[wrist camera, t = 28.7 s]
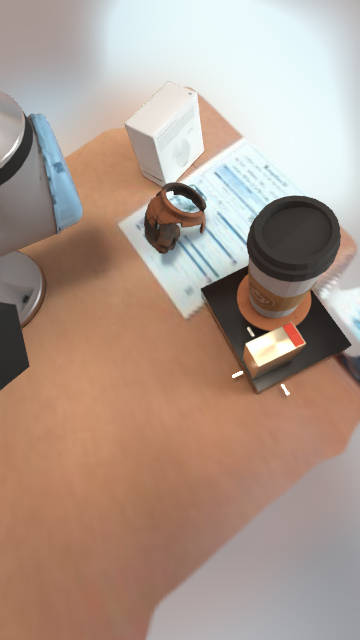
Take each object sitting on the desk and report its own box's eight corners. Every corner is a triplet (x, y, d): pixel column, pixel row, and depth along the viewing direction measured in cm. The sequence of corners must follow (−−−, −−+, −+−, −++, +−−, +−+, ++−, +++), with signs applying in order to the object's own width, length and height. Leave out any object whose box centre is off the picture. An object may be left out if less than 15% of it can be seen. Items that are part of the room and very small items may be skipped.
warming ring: (224, 285, 43) (224, 284, 43) (285, 255, 44) (285, 254, 43) (259, 344, 40) (259, 343, 40) (325, 311, 40) (326, 310, 40)
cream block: (253, 379, 38) (258, 366, 31) (242, 359, 39) (245, 342, 32) (292, 359, 38) (307, 343, 31) (280, 340, 39) (292, 319, 32)
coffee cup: (228, 296, 42) (228, 229, 28) (273, 259, 43) (293, 176, 29) (273, 339, 39) (298, 288, 25) (320, 298, 40) (368, 227, 26)
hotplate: (190, 301, 46) (188, 293, 44) (279, 257, 46) (282, 247, 44) (250, 414, 39) (252, 413, 37) (354, 362, 40) (362, 357, 37)
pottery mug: (145, 211, 54) (158, 169, 47) (195, 230, 56) (215, 192, 49) (131, 260, 47) (144, 219, 40) (189, 280, 49) (210, 244, 42)
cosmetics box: (177, 138, 58) (167, 78, 48) (204, 151, 56) (199, 91, 46) (140, 175, 56) (122, 121, 46) (167, 191, 54) (153, 137, 44)
